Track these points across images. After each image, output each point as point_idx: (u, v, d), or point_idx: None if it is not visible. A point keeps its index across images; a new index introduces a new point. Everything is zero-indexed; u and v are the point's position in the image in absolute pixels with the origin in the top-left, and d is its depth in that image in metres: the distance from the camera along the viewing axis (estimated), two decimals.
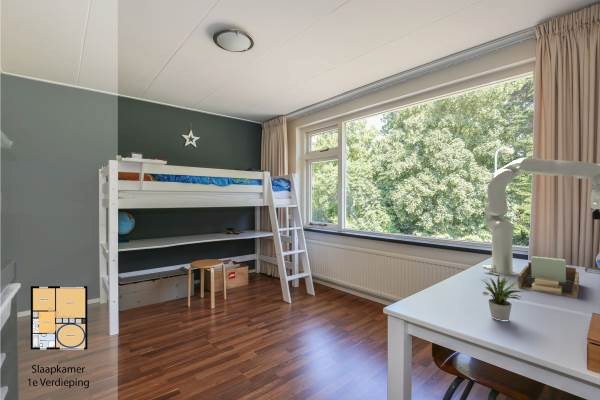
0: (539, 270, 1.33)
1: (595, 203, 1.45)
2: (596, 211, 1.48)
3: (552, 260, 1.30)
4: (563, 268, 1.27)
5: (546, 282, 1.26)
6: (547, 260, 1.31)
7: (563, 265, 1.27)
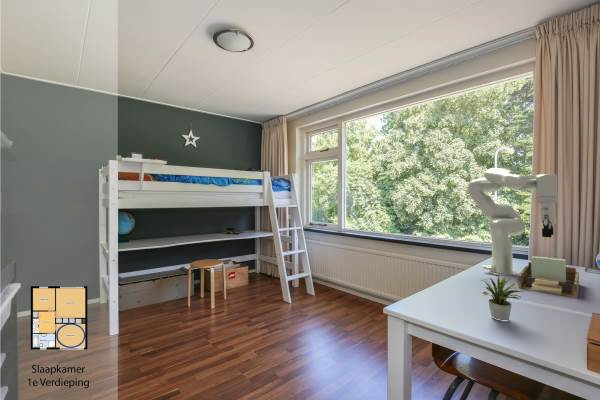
0: (539, 270, 1.33)
1: (555, 217, 1.29)
2: None
3: (552, 260, 1.30)
4: (563, 268, 1.27)
5: (546, 282, 1.26)
6: (547, 260, 1.31)
7: (563, 265, 1.27)
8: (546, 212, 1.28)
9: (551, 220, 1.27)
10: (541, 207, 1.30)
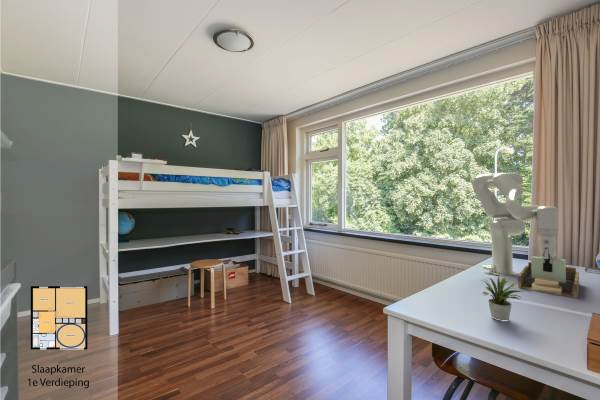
0: (539, 270, 1.33)
1: (555, 250, 1.29)
2: None
3: (552, 260, 1.30)
4: (563, 268, 1.27)
5: (546, 282, 1.26)
6: None
7: (563, 265, 1.27)
8: (546, 245, 1.28)
9: (551, 253, 1.27)
10: (541, 240, 1.30)
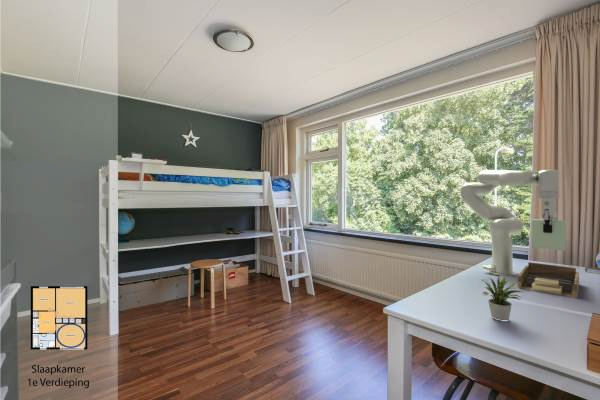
0: (539, 232, 1.38)
1: (555, 212, 1.34)
2: None
3: (552, 221, 1.34)
4: (563, 228, 1.31)
5: (546, 282, 1.26)
6: None
7: (563, 226, 1.31)
8: (547, 207, 1.33)
9: (551, 214, 1.31)
10: (542, 202, 1.34)
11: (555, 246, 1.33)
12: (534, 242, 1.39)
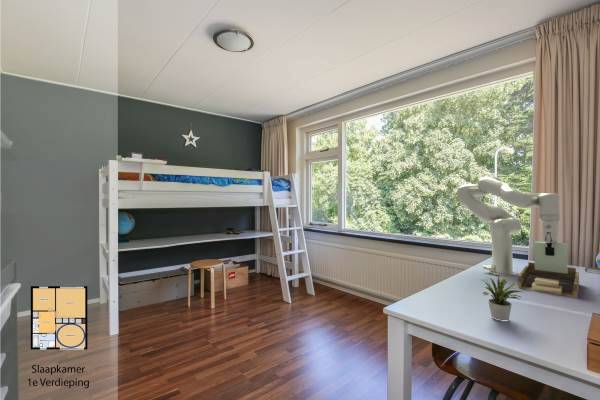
0: (541, 254, 1.39)
1: (557, 235, 1.35)
2: None
3: (554, 244, 1.35)
4: (565, 251, 1.33)
5: (546, 282, 1.26)
6: None
7: (565, 249, 1.33)
8: (548, 230, 1.34)
9: (553, 238, 1.33)
10: (544, 225, 1.36)
11: (558, 269, 1.35)
12: (537, 265, 1.40)
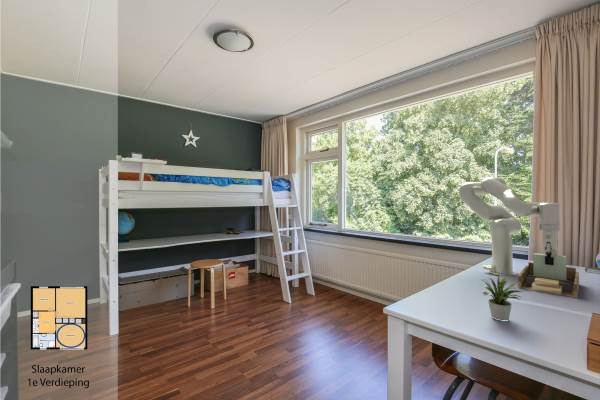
0: (540, 266, 1.39)
1: (557, 244, 1.36)
2: None
3: None
4: (564, 264, 1.33)
5: (546, 282, 1.26)
6: None
7: (564, 261, 1.33)
8: (548, 239, 1.34)
9: (553, 247, 1.33)
10: (543, 234, 1.36)
11: None
12: None
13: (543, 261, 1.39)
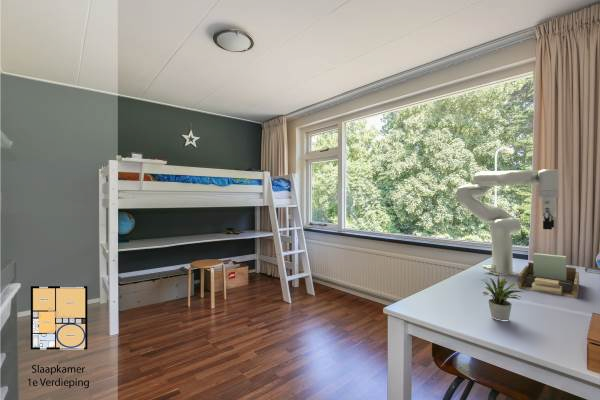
0: (540, 266, 1.39)
1: (555, 211, 1.36)
2: None
3: (553, 257, 1.36)
4: (564, 264, 1.33)
5: (546, 282, 1.26)
6: (548, 257, 1.37)
7: (564, 261, 1.33)
8: (547, 205, 1.35)
9: (552, 213, 1.34)
10: (542, 201, 1.37)
11: None
12: None
13: (543, 261, 1.39)
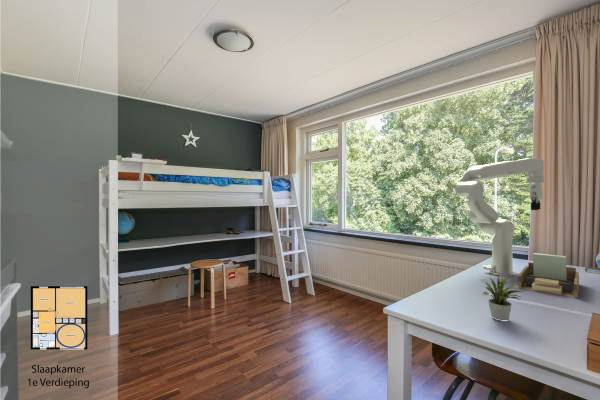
0: (540, 266, 1.39)
1: (541, 194, 1.59)
2: None
3: (553, 257, 1.36)
4: (564, 264, 1.33)
5: (546, 282, 1.26)
6: (548, 257, 1.37)
7: (564, 261, 1.33)
8: (534, 190, 1.58)
9: (538, 196, 1.57)
10: (530, 186, 1.60)
11: None
12: None
13: (543, 261, 1.39)
